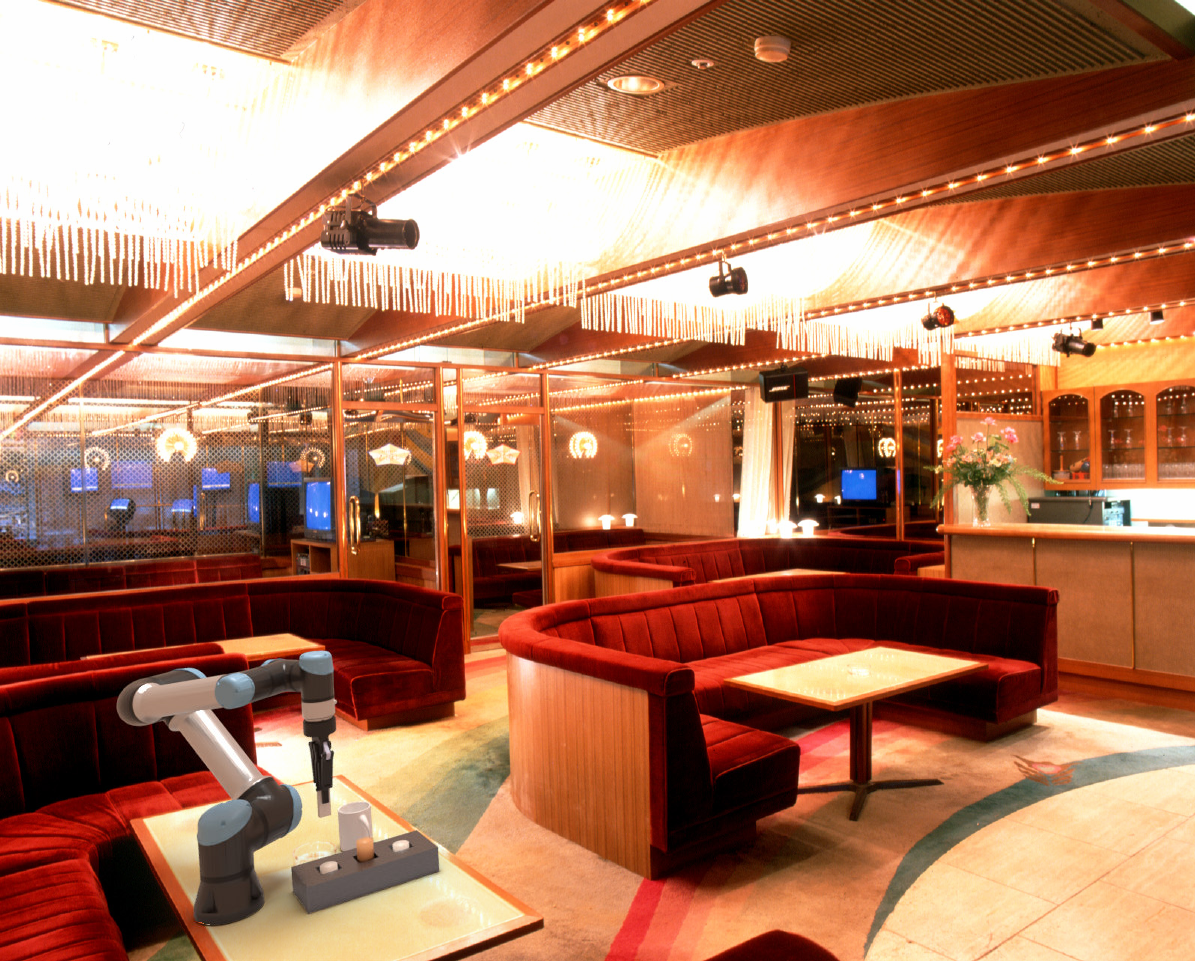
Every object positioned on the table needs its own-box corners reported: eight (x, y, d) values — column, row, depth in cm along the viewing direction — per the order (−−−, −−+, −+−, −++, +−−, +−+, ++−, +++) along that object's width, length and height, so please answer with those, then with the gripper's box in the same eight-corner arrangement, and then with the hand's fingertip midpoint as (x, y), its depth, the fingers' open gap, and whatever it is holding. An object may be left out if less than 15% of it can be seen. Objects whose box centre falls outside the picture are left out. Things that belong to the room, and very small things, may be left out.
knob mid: (360, 865, 205) (359, 845, 205) (355, 860, 208) (354, 840, 208) (376, 861, 207) (375, 840, 207) (371, 855, 210) (369, 835, 210)
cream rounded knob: (397, 868, 210) (395, 848, 210) (391, 862, 213) (390, 843, 213) (412, 863, 212) (411, 843, 212) (406, 858, 215) (405, 838, 215)
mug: (355, 859, 220) (353, 818, 221) (334, 847, 229) (332, 808, 229) (385, 848, 226) (382, 808, 226) (363, 837, 235) (361, 798, 235)
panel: (308, 913, 193) (306, 887, 193) (292, 891, 204) (291, 866, 204) (439, 871, 211) (438, 846, 211) (418, 852, 222) (416, 830, 222)
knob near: (323, 891, 200) (322, 870, 200) (319, 885, 203) (317, 864, 203) (340, 886, 202) (339, 865, 202) (335, 880, 205) (334, 859, 205)
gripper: (343, 719, 200) (348, 819, 199) (327, 708, 210) (332, 803, 210) (310, 725, 195) (316, 827, 195) (296, 714, 206) (301, 811, 206)
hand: (324, 815), depth 203 cm, fingers closed
